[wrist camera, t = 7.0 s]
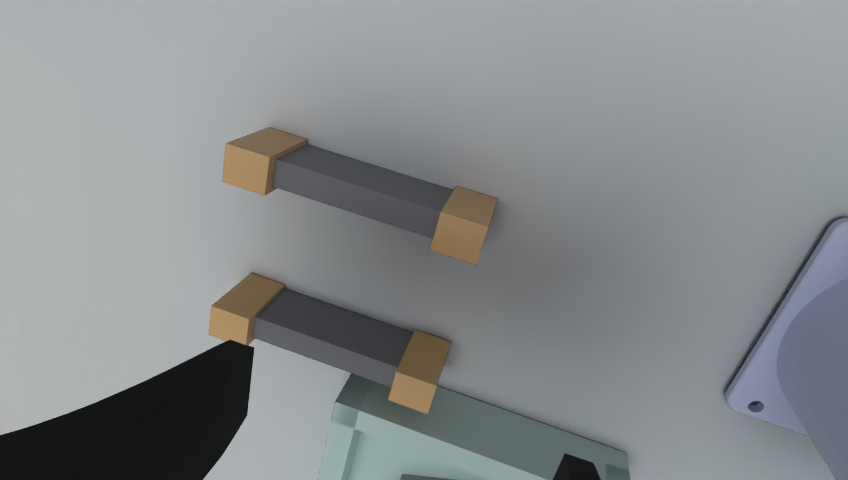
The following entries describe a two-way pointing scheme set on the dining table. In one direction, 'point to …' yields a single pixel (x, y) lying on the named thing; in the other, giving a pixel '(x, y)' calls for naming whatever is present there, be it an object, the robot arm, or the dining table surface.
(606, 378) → the dining table surface
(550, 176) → the dining table surface
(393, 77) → the dining table surface
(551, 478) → the tray
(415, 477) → the gray block
